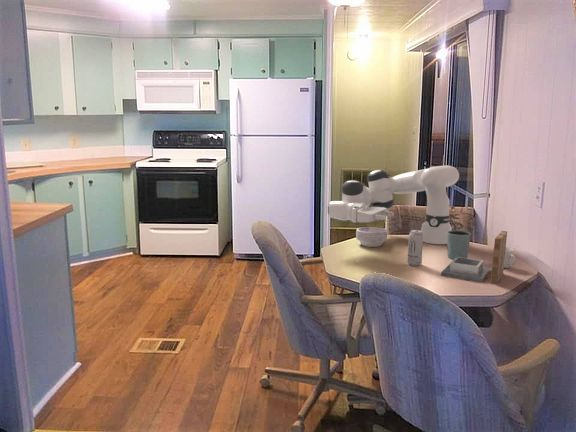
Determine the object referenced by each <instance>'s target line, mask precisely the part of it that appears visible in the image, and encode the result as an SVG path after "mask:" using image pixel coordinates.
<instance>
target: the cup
mask: <svg viewBox="0 0 576 432" xmlns="http://www.w3.org/2000/svg"><path fill="white" fill-rule="evenodd" d="M514 251H515V250H514V249H513V248H510V247H507V246H506V249H505V258H504V268H503V269H509V268H510V267H511V266H513V265H515V264H516V263H515V262H516V256H515V255H514Z"/></svg>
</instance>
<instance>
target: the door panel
mask: <svg viewBox="0 0 576 432" xmlns="http://www.w3.org/2000/svg"><path fill="white" fill-rule="evenodd" d="M507 236H508V231H505V230H501V232H499V234H498V235H497V236H495V238H494V245H493V254H492V255H493V256H492V264H491V265H492V266H491V277H490V284H493V285H497V284H498V282H499V281H500V279H501V277H502V276H503V275H504V269H505V268H504V258H505V249H506V247H507V240H508V239H507Z"/></svg>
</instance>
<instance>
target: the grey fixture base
mask: <svg viewBox="0 0 576 432" xmlns="http://www.w3.org/2000/svg"><path fill="white" fill-rule="evenodd" d="M484 263H485V261H484V260H482V259H481V260H480V259H476V258H475V259H474V258H469V257H467V258H462V257H456V258H455V259H454V260H451V262H449V264H448V265H447V266H446V267H445V268H444V269H443V270H442V271H441V273H440V276H441V277H447V278H453V279H460V280H465V281H470V282H477V283H483V282H484V281H485V280H486V278H487V277H488V276H489V274H490V273H491V272H492V267H488V266H484Z"/></svg>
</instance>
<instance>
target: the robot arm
mask: <svg viewBox="0 0 576 432" xmlns="http://www.w3.org/2000/svg"><path fill="white" fill-rule="evenodd" d="M389 176H391V174H390V173H388V172H386V171H385V170H383V169H375V170H372V171H371V172H369V173H368V174H367V176H366V179H367V183H368V186H367V185H366V184H365V183H364V182H361V181H358V180H354V179H353V180H351V179H350V180H346V181H345V182H344V183H342V185H341V192H342V193H341V194H342V195H341V200H332V201H331V200H330V202H329V203H328V205H327V214H328V217H329V218H331V219H336V220H339V221H346V222H352V224H353V223H355V224H356V223H361V224H363V223H372V222H374V221H379V220H380V221H385V220H386V219H387V217H388V216H389V217H394V215H395V213H394V211H389V209H391V208H392V207H393V206H394V203H395V201H394V198H393V197H394V196H393V194H395V195H405V194H406V195H407V194H413V193H419V192H425V194H426V213H425V216H424V222H423V223H421V230H420V231H422V234H423V243H426V244H431V245H448V238H447V232H448V231H452V229H453V228H452V226H451V224H450V220H451V218H450V217H451V214H450V203H451V201H450V198H449V197H448V193H447V188H448V187H451V186H454V185H455V184H456V183H457V182H458V181H459V179H460V172H459V170H458V169H457V168H456V167H454V166H452V165H437V166H431V167H428V168H424V169H419V170H414V171H413V170H412V171H408V172H403V173H399V174H397V175H394V176H392V177H389Z"/></svg>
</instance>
